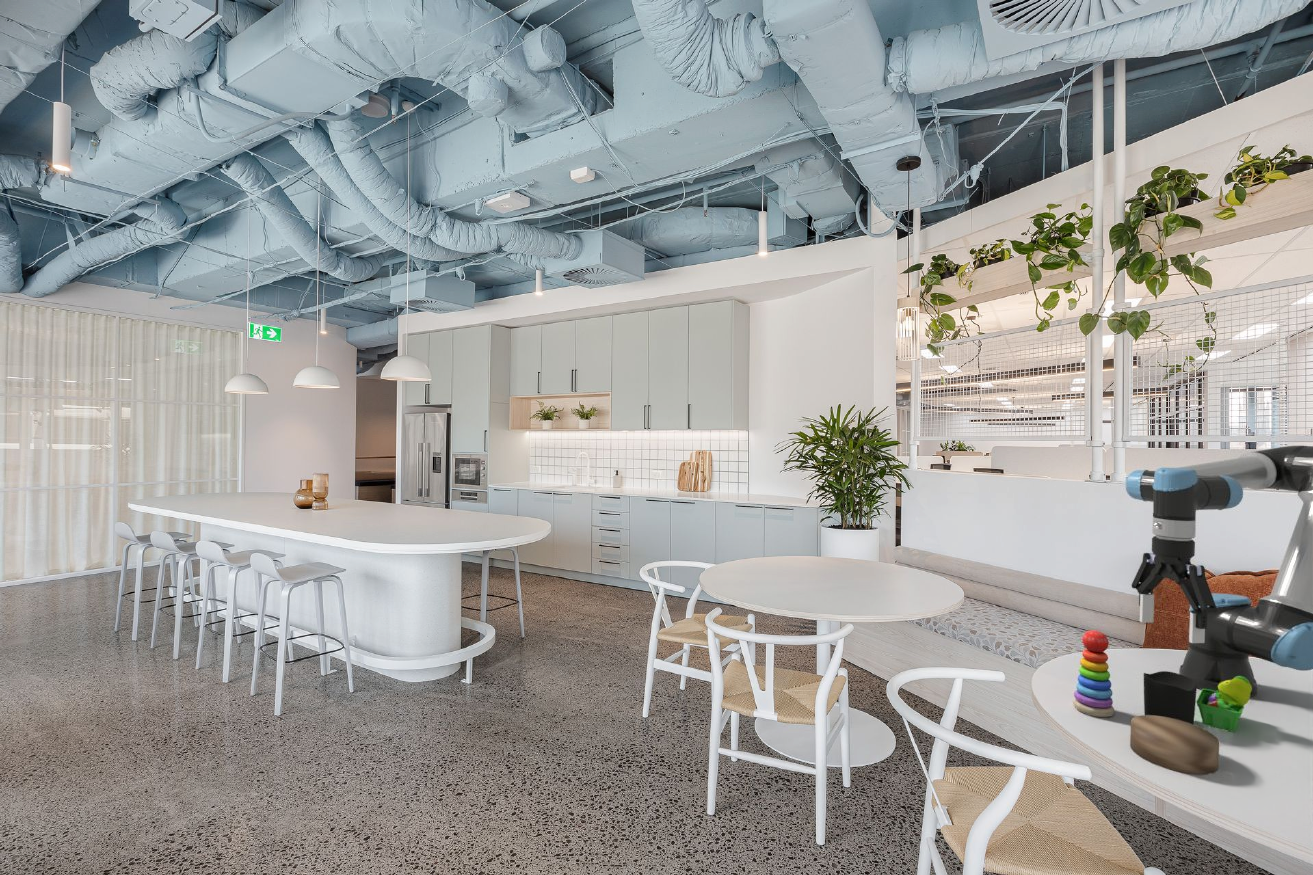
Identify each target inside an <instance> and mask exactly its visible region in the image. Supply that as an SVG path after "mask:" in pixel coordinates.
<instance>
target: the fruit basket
mask: <svg viewBox="0 0 1313 875" xmlns="http://www.w3.org/2000/svg"><path fill="white" fill-rule="evenodd" d="M1249 682H1250V681H1249V680H1248V679H1247V678H1245V677H1242V676H1236V677H1234V679H1232V680H1227V681H1224V682H1221V683H1220V684H1219V685H1218V689H1219V691H1218V690H1217V691H1214V690H1209V689H1201V691H1200V693H1199V695H1198V698H1196V705H1197V707H1198V710H1199V714H1200V717H1201V721H1202V724H1203V725H1204V726H1206V727H1212V728H1215V729H1219V730H1223V731H1227V732H1230V733H1234V732H1235V730H1236V728H1237V724H1238V722H1239V721H1240V720H1239V719H1240V717H1242V714H1243V710H1244V708H1245V705H1247V704H1248V702H1250V698H1251V696H1250V693H1251V691H1252V686H1251V685H1250V683H1249Z"/></svg>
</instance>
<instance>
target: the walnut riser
mask: <svg viewBox="0 0 1313 875" xmlns="http://www.w3.org/2000/svg"><path fill="white" fill-rule="evenodd" d="M1129 737H1130V739H1129V741H1130V742H1129V746H1130V749H1131V751H1132V752H1133V753H1135V754H1136V755H1137V756H1138V755H1139V756H1138V757H1140V758H1142V759H1143V760H1145V761H1147V762H1149V763H1151V764H1153V765H1155V766H1158V767H1161V768H1164V769H1167V770H1171V771H1174V772H1179V773H1183V774H1188V775H1189V774H1190V775H1211V774H1215V773H1216V772H1218V770H1219V760H1220V759H1219V757H1220V741H1219V738H1218V737H1217V736H1215V735H1214V734H1213V733H1211V732H1210V731H1208V730H1207V729H1205V728H1202V727H1200V726H1198V725H1196V724H1191V723H1188V722H1185V721H1181V720H1177V719H1173V718H1168V717H1163V716H1154V715H1145V714H1144V715H1137V716H1134V717H1132V719H1131V720H1130V734H1129Z"/></svg>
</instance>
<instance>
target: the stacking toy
mask: <svg viewBox="0 0 1313 875" xmlns="http://www.w3.org/2000/svg"><path fill="white" fill-rule="evenodd" d="M1082 644H1083V646H1084V647H1085V648H1086V649H1083V651H1082V653H1081V654H1082V657H1083V658H1081V659H1080V660H1079V661H1080V662H1079V665H1081V666H1080V667H1079V668H1078V672H1079V674H1078V675H1077V681H1078V682H1077V683H1076V690H1075V691H1074V693H1073V695H1074V699H1073V701H1072V704H1073V707H1074V708H1075V709H1077V710H1078V711H1079V712H1080V713H1082V714H1084V715H1085V714H1086V715H1087V716H1092V717H1097V718H1108V717H1111V716H1113V715H1114V714H1115V709H1114V706H1113V703H1114V701H1113V699H1112V696H1113V690H1112V682H1111V680H1110V678H1111V674H1110V671H1109V667H1110V666H1109V664H1108V663H1107V661H1108V659H1109V656H1108V654H1107V653H1106V652H1105V651H1106V650H1108V647H1109V638H1108V637H1107V636H1106V635H1105V634H1104V633H1103V632H1101V631H1099V630H1095V629H1094V630H1093V629H1091V630H1087V631H1086V632H1085V633H1084V634H1083V636H1082Z"/></svg>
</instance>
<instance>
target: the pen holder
mask: <svg viewBox="0 0 1313 875" xmlns="http://www.w3.org/2000/svg"><path fill="white" fill-rule="evenodd" d="M1197 690H1198V688H1197V683H1196V681H1194V680H1193V679H1191V678H1189V677H1187V676H1184V675H1181V674H1179V673H1177V672H1173V671H1167V670H1166V671H1164V670H1161V671H1157V672H1154V673H1146V672H1144V673H1143V709H1144V710H1143V712H1144V715H1154V716H1163V717H1168V718H1173V719H1177V720H1181V721H1185V722H1188V723H1191V724H1193V725H1195V724H1194V723H1195V713H1196V704H1197V702H1196V701H1197V692H1198V691H1197Z"/></svg>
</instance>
